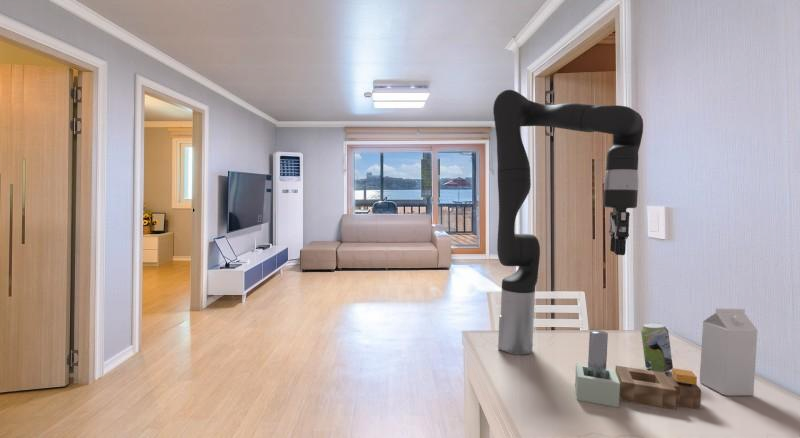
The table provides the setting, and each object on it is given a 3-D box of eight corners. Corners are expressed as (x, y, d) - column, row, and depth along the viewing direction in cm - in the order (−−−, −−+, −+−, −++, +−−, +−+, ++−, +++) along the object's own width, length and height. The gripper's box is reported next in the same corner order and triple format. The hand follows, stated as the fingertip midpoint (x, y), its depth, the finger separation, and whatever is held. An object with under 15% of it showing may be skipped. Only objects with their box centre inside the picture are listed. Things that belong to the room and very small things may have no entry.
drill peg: (587, 397, 90) (590, 333, 89) (585, 390, 93) (589, 329, 93) (605, 400, 88) (608, 336, 88) (603, 393, 92) (606, 331, 91)
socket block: (621, 400, 89) (622, 381, 89) (614, 382, 98) (615, 365, 98) (704, 414, 84) (705, 395, 84) (689, 394, 93) (690, 376, 93)
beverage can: (676, 376, 103) (679, 329, 102) (644, 373, 104) (647, 326, 104) (666, 367, 109) (668, 322, 109) (635, 364, 110) (638, 319, 110)
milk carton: (699, 382, 100) (703, 304, 99) (726, 382, 100) (731, 305, 100) (724, 396, 93) (729, 312, 92) (753, 396, 93) (759, 312, 93)
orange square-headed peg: (675, 400, 88) (676, 374, 88) (670, 393, 92) (672, 368, 91) (695, 403, 87) (696, 377, 87) (690, 396, 90) (691, 370, 90)
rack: (576, 399, 88) (577, 376, 88) (575, 384, 96) (576, 363, 96) (618, 407, 86) (619, 383, 85) (613, 391, 93) (614, 369, 93)
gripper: (643, 187, 95) (639, 257, 96) (632, 190, 109) (629, 251, 109) (607, 187, 98) (603, 255, 99) (601, 189, 111) (598, 249, 112)
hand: (617, 253), depth 104 cm, fingers open, 8 cm apart
